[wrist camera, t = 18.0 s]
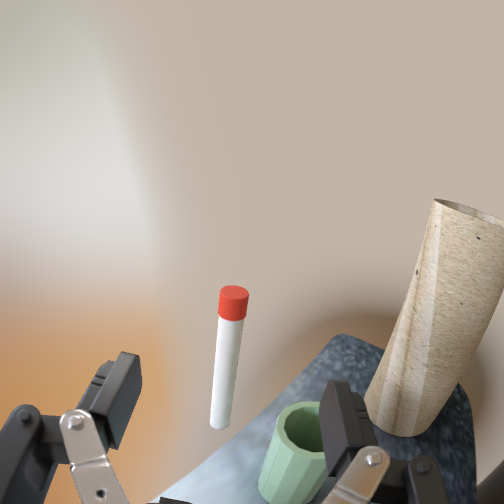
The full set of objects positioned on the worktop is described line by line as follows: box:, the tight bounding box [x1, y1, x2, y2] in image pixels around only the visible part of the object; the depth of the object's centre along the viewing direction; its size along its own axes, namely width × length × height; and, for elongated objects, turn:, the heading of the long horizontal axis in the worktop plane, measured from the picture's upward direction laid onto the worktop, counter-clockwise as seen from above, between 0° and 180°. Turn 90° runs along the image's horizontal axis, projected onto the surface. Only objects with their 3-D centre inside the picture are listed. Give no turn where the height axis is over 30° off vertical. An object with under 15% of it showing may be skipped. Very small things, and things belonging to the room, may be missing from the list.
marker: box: [210, 286, 249, 430], centre depth 27 cm, size 2×2×16 cm
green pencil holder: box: [257, 402, 328, 504], centre depth 22 cm, size 6×6×10 cm
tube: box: [364, 199, 504, 437], centre depth 29 cm, size 10×10×25 cm
